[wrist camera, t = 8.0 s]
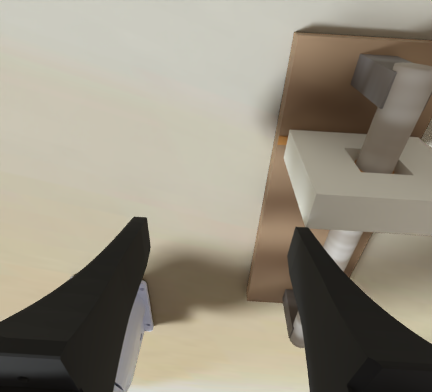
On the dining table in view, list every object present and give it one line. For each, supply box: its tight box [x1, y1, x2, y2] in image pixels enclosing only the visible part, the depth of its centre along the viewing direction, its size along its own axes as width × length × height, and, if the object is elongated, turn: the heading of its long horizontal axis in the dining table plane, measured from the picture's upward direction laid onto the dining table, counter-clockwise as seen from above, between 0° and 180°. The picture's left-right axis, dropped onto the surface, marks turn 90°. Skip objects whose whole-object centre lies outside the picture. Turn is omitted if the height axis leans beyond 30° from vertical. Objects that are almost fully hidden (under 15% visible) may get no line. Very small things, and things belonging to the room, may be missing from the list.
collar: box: [284, 130, 432, 236], centre depth 16 cm, size 2×8×7 cm, turn 87°
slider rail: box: [247, 32, 432, 348], centre depth 21 cm, size 24×9×6 cm, turn 177°
